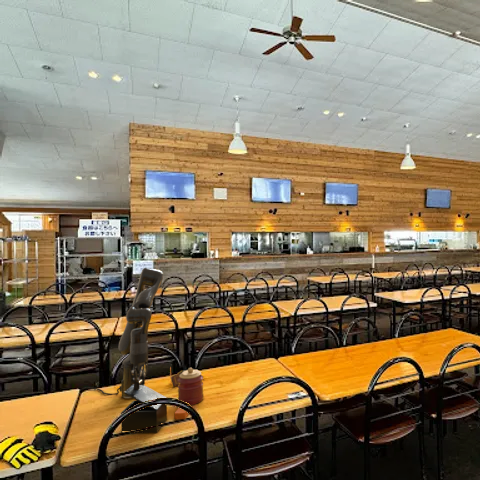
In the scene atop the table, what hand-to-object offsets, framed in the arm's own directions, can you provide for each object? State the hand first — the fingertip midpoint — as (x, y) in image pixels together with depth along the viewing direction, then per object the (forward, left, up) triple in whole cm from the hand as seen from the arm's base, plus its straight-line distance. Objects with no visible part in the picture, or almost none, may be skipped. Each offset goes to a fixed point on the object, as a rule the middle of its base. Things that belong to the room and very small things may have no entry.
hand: (139, 387), depth 176 cm
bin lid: (+3, 0, -4) cm, 5 cm away
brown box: (+5, +52, -19) cm, 56 cm away
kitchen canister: (+15, +27, -19) cm, 36 cm away
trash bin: (+2, 0, -18) cm, 19 cm away
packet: (+16, +10, -18) cm, 27 cm away
